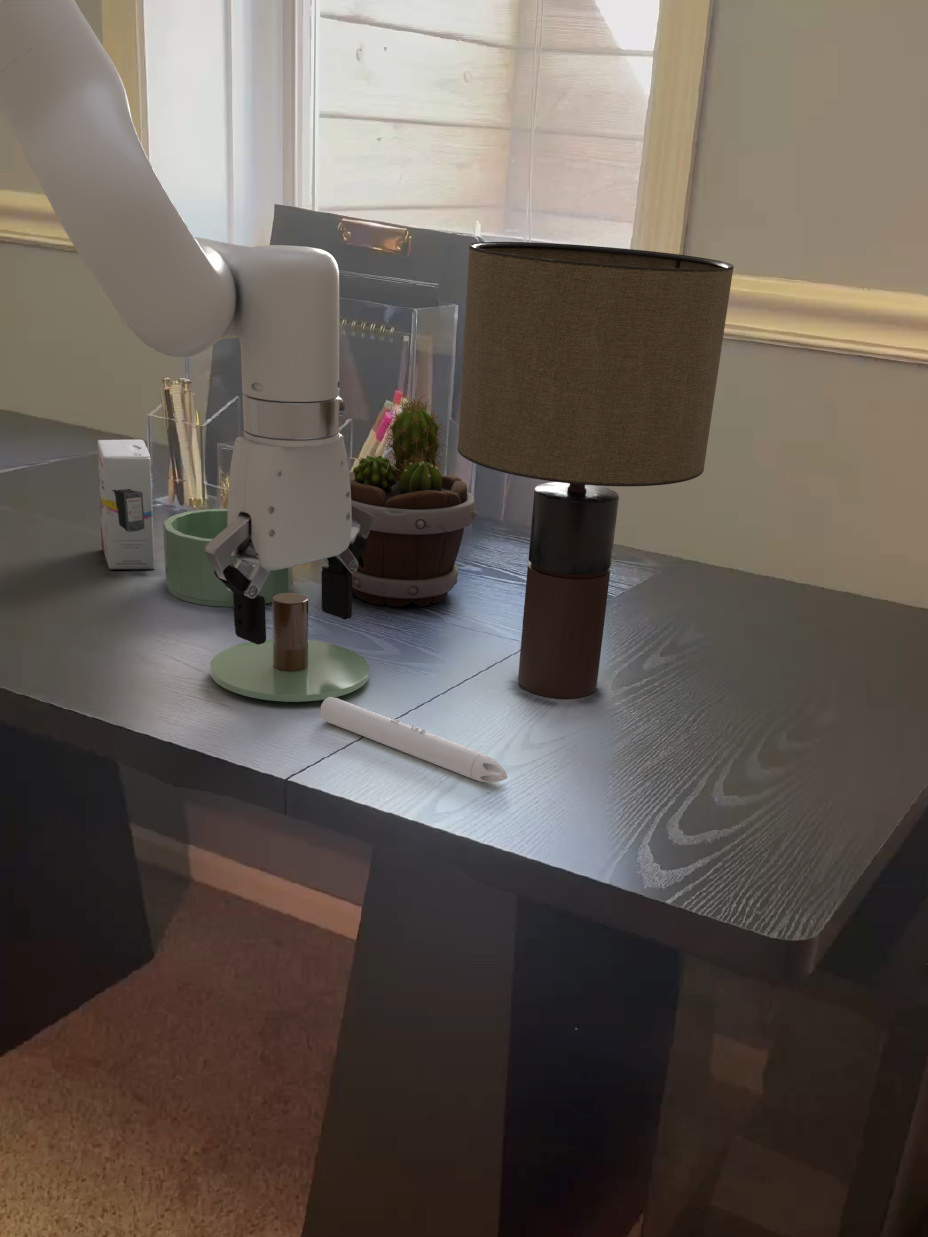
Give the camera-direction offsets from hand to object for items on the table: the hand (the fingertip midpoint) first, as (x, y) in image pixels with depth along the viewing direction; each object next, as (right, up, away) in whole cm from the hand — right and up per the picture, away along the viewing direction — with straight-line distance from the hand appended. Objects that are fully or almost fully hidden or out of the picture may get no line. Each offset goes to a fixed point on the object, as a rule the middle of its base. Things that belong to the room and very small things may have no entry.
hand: (294, 627), depth 110 cm
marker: (+11, -12, -10) cm, 19 cm away
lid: (-1, -4, +2) cm, 4 cm away
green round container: (-10, +8, +23) cm, 27 cm away
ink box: (-22, +12, +29) cm, 39 cm away
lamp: (+23, -4, +5) cm, 24 cm away
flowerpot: (+7, +8, +25) cm, 27 cm away
